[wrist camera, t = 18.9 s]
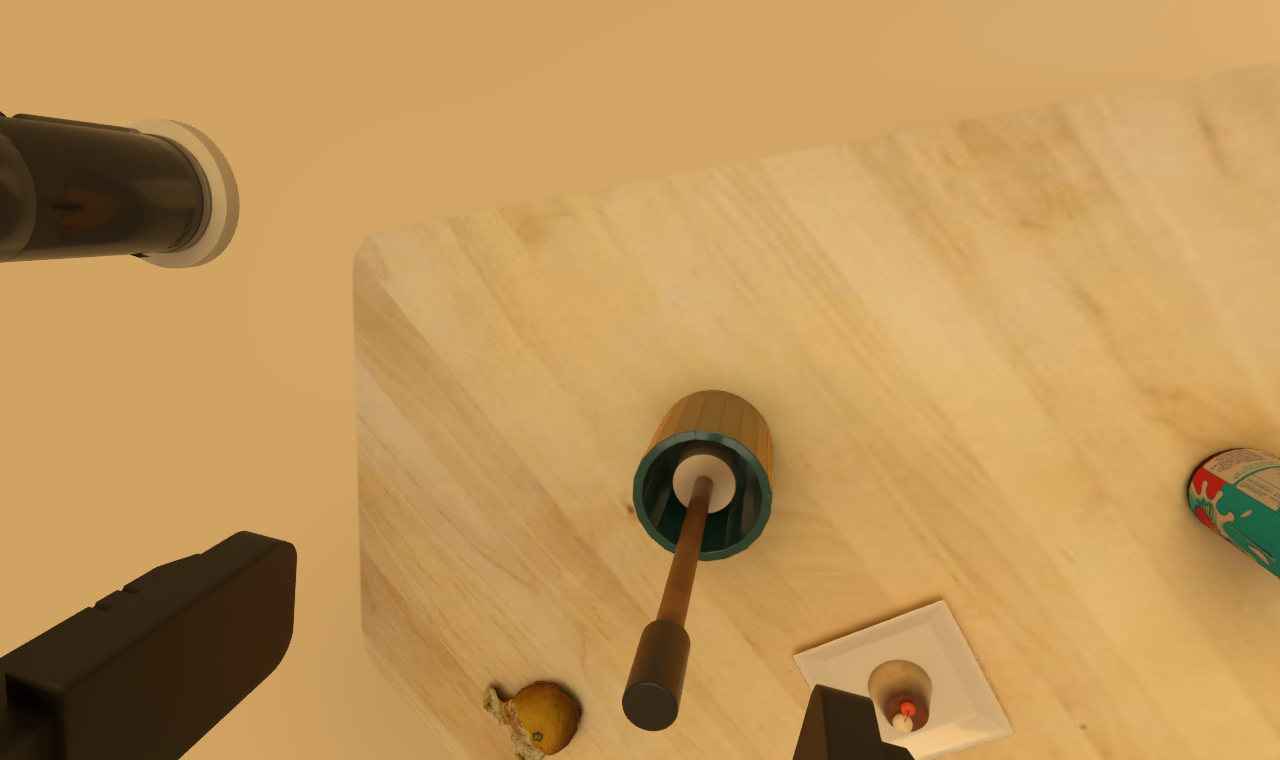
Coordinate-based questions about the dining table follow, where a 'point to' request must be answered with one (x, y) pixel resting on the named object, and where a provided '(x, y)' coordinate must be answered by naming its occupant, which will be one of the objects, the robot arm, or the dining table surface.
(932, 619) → the dessert
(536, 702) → the fruit
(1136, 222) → the dining table surface
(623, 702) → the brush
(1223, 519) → the beverage can
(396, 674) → the dining table surface
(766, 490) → the cup
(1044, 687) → the dining table surface
